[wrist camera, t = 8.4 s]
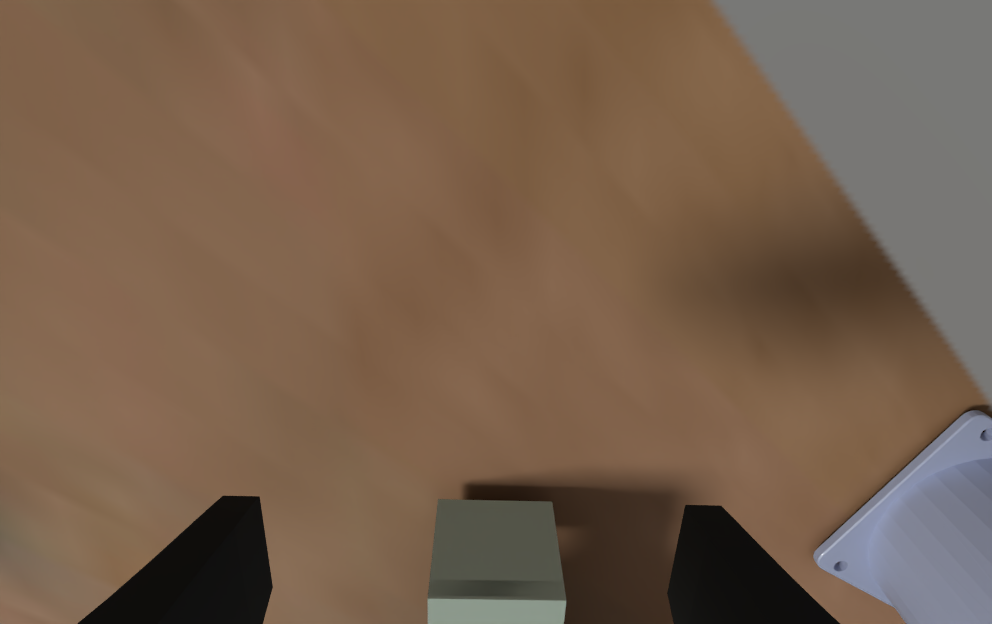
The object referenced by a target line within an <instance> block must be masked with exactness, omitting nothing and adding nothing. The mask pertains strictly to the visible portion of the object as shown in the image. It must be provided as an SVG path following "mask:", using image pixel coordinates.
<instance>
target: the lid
mask: <svg viewBox="0 0 992 624" xmlns="http://www.w3.org/2000/svg"><path fill="white" fill-rule="evenodd" d="M565 609H566V594H565V587H564V581H563V574H562V567H561V560H560V553H559V546H558V539H557V532H556V525H555V518H554V511H553V504H552V502H548V501H498V500H448V499H438V505H437V514H436V524H435V534H434V543H433V553H432V562H431V572H430V582H429V591H428V624H564V617H565Z"/></svg>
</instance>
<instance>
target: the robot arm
mask: <svg viewBox="0 0 992 624" xmlns="http://www.w3.org/2000/svg"><path fill="white" fill-rule="evenodd" d="M984 430H986V431H985V432H983V431H984ZM982 432H983V433H982ZM813 557H814V560H815V562H816V563H817V565H818V566H819V567H820V568H821V569H823V570H825V571H827V572H829V573H830V574H832V575H834V576H836V577H838V578H840V579H842V580H844V581H845V582H847V583H849V584H851V585H853V586H855V587H857V588H858V589H860V590H862V591H864V592H866V593H868V594H870V595H872V596H873V597H875V598H877V599H879V600H881V601H883V602H885V603H887V604H888V605H890V606H892V607H894V608H895V609H896V610H897V612H898V613H899V614H900V616H901V617H902V619H903V620H904V621H905V623H906V624H992V418H991V417H989V416H988V415H986V414H985V413H983V412H981V411H979V410H972V411H969V412H966V413H964V414H963V415H962V416H960V417H959V418H958V419H957V420H956V421H955V422H954V423H953V424H952V425H951V426H950V427H948V428H947V429H946V430H945V431H944V432H943V433H942V434H941V435H940V436H939V437H938V438H937V439H935V440H934V441H933V442H932V443H931V444H930V445H929V446H928V447H927V448H926V449H925V450H924V451H922V452H921V453H920V454H919V455H918V456H917V457H916V458H915V459H914V460H913V461H912V462H911V463H909V464H908V465H907V466H906V467H905V468H904V469H903V470H902V471H901V472H900V473H899V474H898V475H896V476H895V477H894V478H893V479H892V480H891V481H890V482H889V483H888V484H887V485H886V486H885V487H883V488H882V489H881V490H880V491H879V492H878V493H877V494H876V495H875V496H874V497H873V498H871V499H870V500H869V501H868V502H867V503H866V504H865V505H864V506H863V507H862V508H861V509H860V510H858V511H857V512H856V513H855V514H854V515H853V516H852V517H851V518H850V519H849V520H848V521H847V522H845V523H844V524H843V525H842V526H841V527H840V528H839V529H838V530H837V531H836V532H835V533H834V534H832V535H831V536H830V537H829V538H828V539H827V540H826V541H825V542H824V543H823V544H822V545H821V546H819V547H818V548H817V550H816V551H815V552H814V556H813ZM837 562H838V563H837ZM272 588H273V586H272V579H271V572H270V565H269V559H268V552H267V545H266V538H265V531H264V524H263V517H262V510H261V504H260V497H256V496H222V497H221V498H220V499H219V500H218V501H217V502H215V503H214V504H213V505H212V506H211V507H210V508H209V509H207V510H206V511H205V512H204V513H203V514H202V515H201V516H200V517H199V518H197V519H196V520H195V521H194V522H193V523H192V524H191V525H190V526H189V527H188V528H186V529H185V530H184V531H183V532H182V533H181V534H180V535H179V536H178V537H177V538H176V539H174V540H173V541H172V542H171V543H170V544H169V545H168V546H167V547H166V548H165V549H163V550H162V551H161V552H160V553H159V554H158V555H157V556H156V557H155V558H153V559H152V560H151V561H150V562H149V563H148V564H147V565H146V566H144V567H143V568H142V569H141V570H140V571H139V572H138V573H136V574H135V575H134V576H133V577H132V578H131V579H130V580H129V581H127V582H126V583H125V584H124V585H123V586H122V587H121V588H119V589H118V590H117V591H116V592H115V593H114V594H113V595H111V596H110V597H109V598H108V599H107V600H106V601H104V602H103V603H102V604H101V605H100V606H98V607H97V608H96V609H95V610H93V611H92V612H91V613H90V614H89V615H87V616H86V617H85V618H84V619H82V620H81V621H80V622H79V623H78V624H263V621H264V617H265V613H266V610H267V606H268V602H269V599H270V595H271V591H272ZM667 594H668V598H669V603H670V608H671V612H672V617H673V622H674V624H840V623H839V622H838V621H837V620H835V619H834V618H833V617H832V616H831V615H830V614H829V613H828V612H827V611H826V610H825V609H824V608H823V607H822V606H821V605H820V604H818V603H817V602H816V601H815V600H814V599H813V598H812V597H811V596H810V595H809V594H808V593H807V592H806V591H805V590H804V589H803V588H802V587H801V586H800V585H799V584H798V583H797V582H796V581H795V580H794V579H793V578H792V577H791V576H790V575H789V574H788V573H787V572H786V571H785V570H784V569H783V568H782V567H781V566H780V565H779V564H778V563H777V562H776V561H775V560H774V559H773V558H772V557H771V556H770V555H769V554H768V553H767V552H766V551H765V550H764V549H763V548H762V547H761V546H760V545H759V544H758V543H757V542H756V541H755V540H754V539H753V538H752V537H751V536H750V535H749V534H748V533H747V532H746V531H745V530H744V529H743V528H742V527H741V526H740V524H739V523H738V522H737V521H736V520H735V519H734V518H733V517H732V516H731V515H730V514H729V513H728V512H727V511H726V510H725V509H724V508H723V507H722V506H708V505H685V509H684V514H683V519H682V524H681V529H680V534H679V539H678V544H677V549H676V554H675V559H674V563H673V568H672V573H671V578H670V583H669V588H668V593H667Z"/></svg>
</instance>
